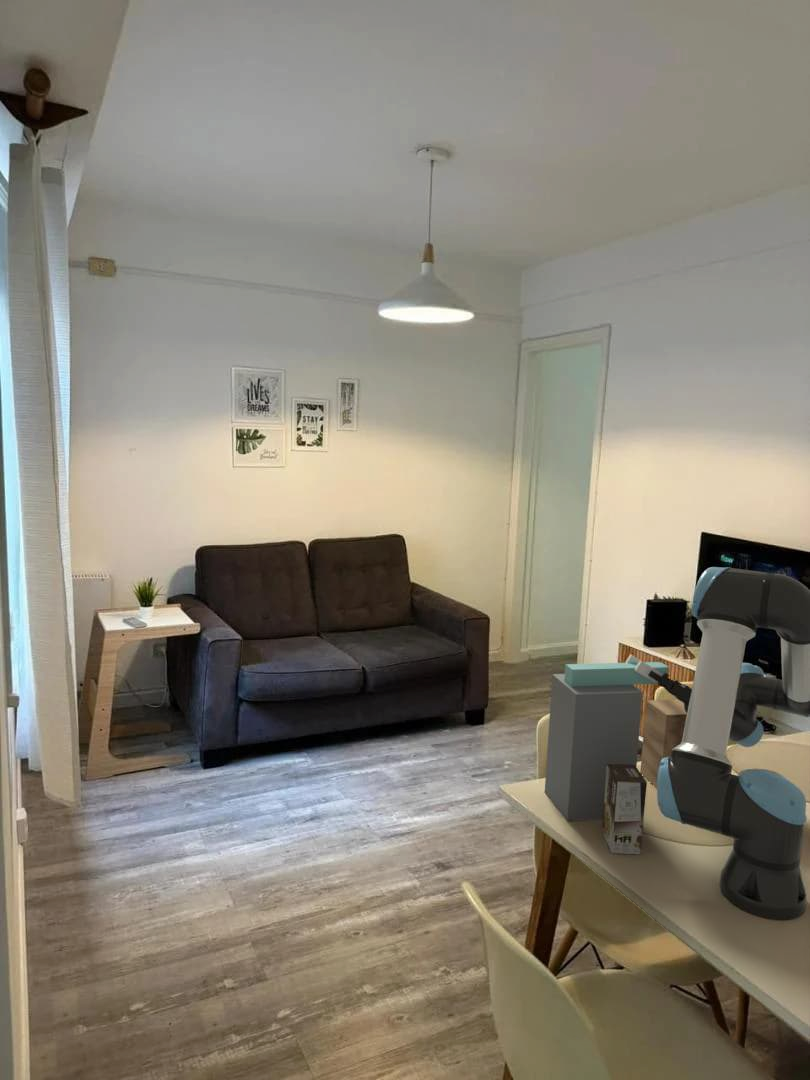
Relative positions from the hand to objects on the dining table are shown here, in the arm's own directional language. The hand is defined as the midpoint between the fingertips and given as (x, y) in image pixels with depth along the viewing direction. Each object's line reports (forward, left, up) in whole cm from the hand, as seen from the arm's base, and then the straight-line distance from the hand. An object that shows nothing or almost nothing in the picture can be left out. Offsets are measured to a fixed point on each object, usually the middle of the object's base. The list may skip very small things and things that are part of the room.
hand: (633, 662), depth 178 cm
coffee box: (-18, +6, -35) cm, 40 cm away
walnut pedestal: (+12, -15, -35) cm, 40 cm away
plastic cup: (-10, -28, -35) cm, 46 cm away
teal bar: (-1, +4, -5) cm, 6 cm away
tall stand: (-1, +9, -35) cm, 36 cm away
